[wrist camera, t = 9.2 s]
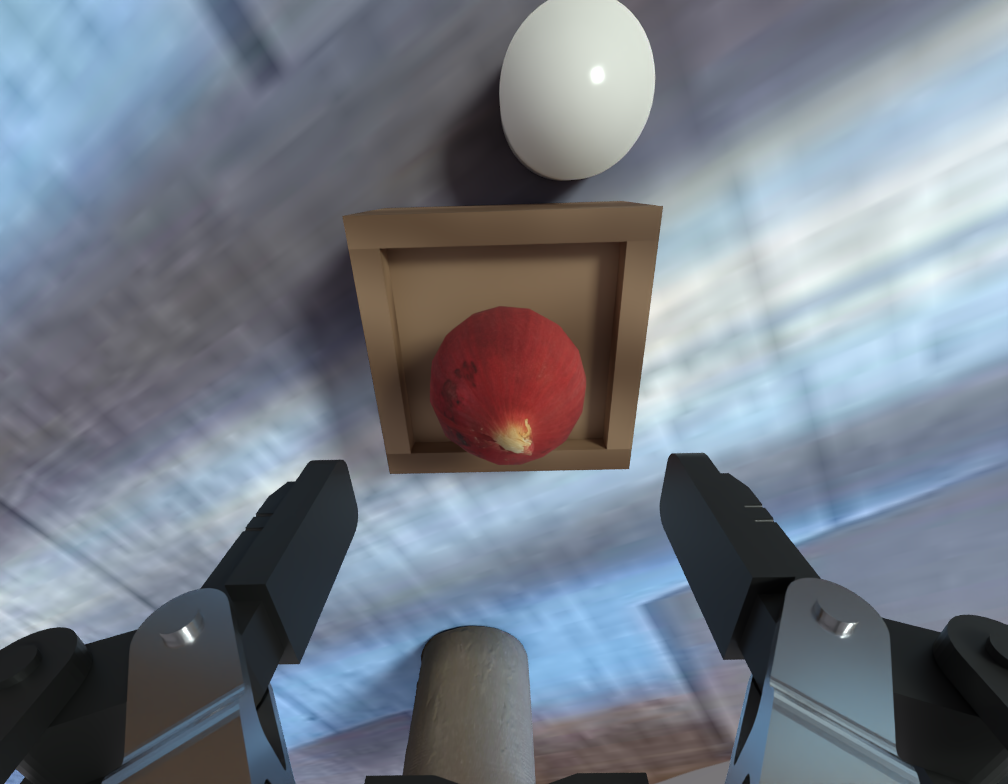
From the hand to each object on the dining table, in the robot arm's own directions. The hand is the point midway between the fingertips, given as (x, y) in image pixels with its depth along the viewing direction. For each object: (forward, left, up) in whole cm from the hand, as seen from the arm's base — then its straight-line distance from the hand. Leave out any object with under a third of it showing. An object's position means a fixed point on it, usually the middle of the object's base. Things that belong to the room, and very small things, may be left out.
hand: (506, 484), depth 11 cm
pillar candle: (+31, -3, -15) cm, 35 cm away
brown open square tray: (0, 0, -15) cm, 15 cm away
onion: (0, 0, -10) cm, 10 cm away
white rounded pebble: (-10, +3, -15) cm, 18 cm away
